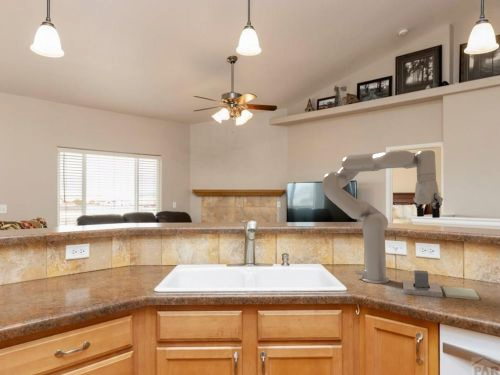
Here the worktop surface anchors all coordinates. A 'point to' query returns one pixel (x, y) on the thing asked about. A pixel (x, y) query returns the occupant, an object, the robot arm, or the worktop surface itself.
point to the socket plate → (422, 289)
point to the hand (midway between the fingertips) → (428, 217)
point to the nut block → (421, 279)
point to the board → (460, 293)
